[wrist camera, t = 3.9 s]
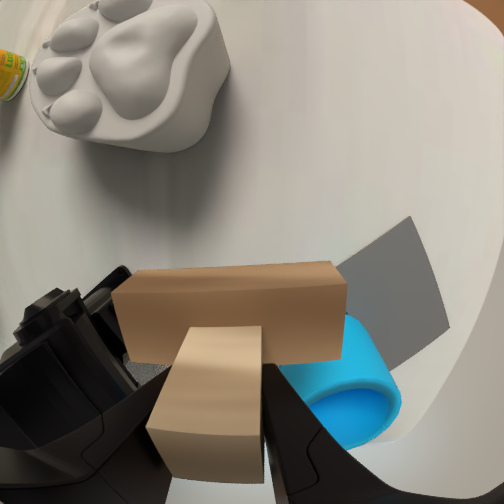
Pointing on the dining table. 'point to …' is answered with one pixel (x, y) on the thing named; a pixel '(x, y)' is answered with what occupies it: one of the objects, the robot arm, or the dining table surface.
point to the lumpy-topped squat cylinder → (132, 74)
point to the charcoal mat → (395, 294)
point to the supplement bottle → (11, 74)
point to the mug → (349, 389)
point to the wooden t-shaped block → (225, 353)
